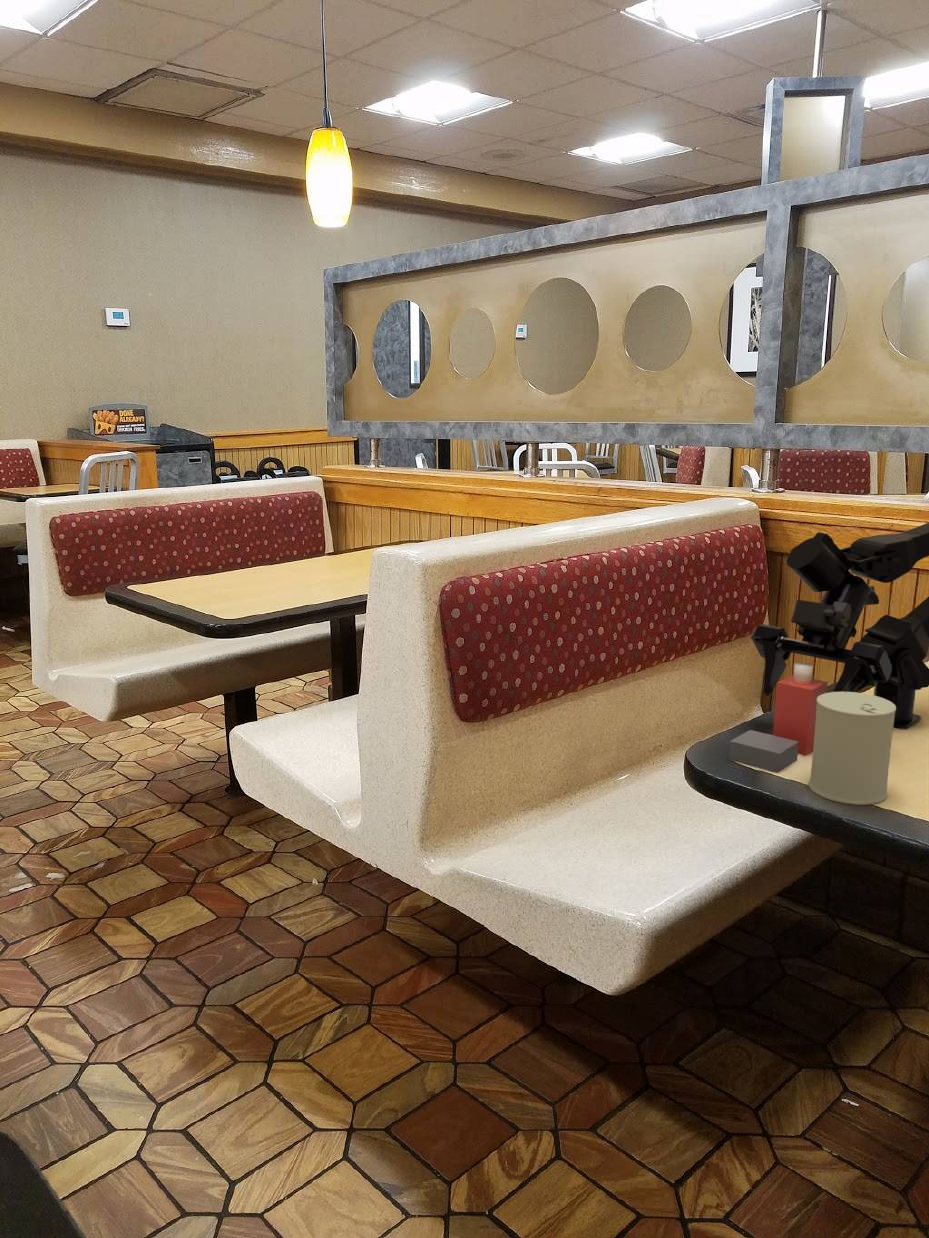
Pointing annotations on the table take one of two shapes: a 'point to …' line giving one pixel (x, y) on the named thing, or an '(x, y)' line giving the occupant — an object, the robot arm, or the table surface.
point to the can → (852, 747)
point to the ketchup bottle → (798, 707)
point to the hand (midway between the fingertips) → (796, 701)
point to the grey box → (763, 751)
